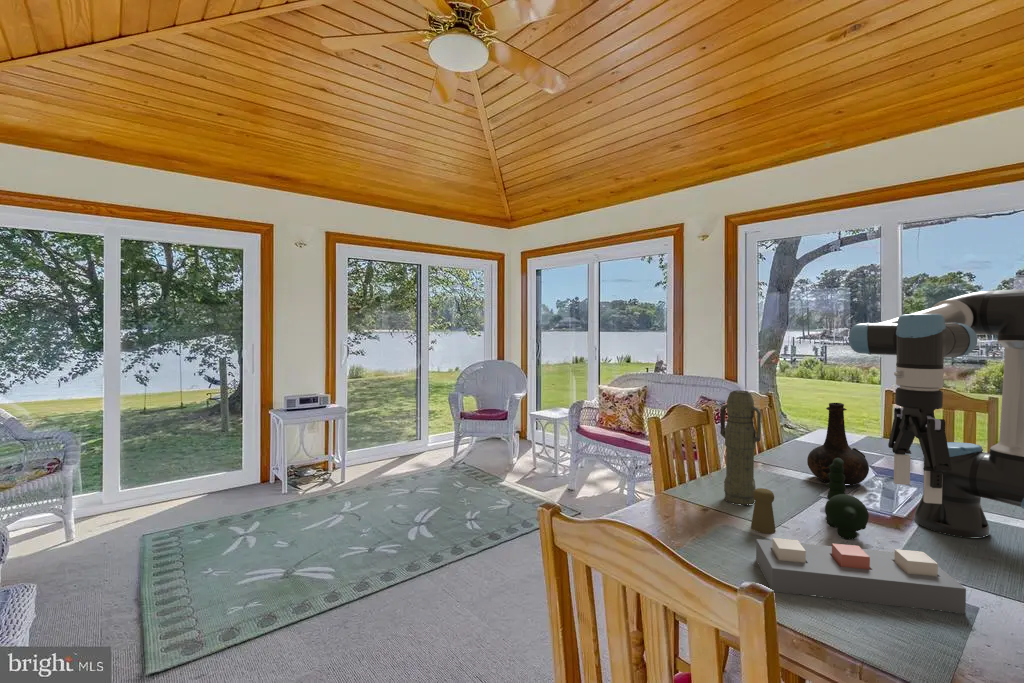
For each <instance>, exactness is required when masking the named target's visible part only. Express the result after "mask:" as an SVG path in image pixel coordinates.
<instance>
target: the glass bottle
mask: <svg viewBox="0 0 1024 683" xmlns="http://www.w3.org/2000/svg"><path fill="white" fill-rule="evenodd" d="M844 407H845V404H844V403H841V402H829V403H828V406H827V407H826V408H825V409H826V410H828V418H827V431H826V436H825V440H824V443H823V444H822V445H819V446H817V447H814V448H813V449H812V450H811V451H809V453H808V456H807V465H808V468H809V470H810V471H811V474H813V475H814V476H815V477H816V478H817V480H818V479H819V480H820V481H822V482H823V483H826V484H828V483H829V482H830V479H829V478H828V477H827V474H828V473H830V472H831V471H830V469H829V467H828V466H829V465H831V464H833V460H834V459H835V458H841V459H842V460H843V462H844V464H843V468H844V472H843V474H844V476H845V481H844V482H843V483H844V484H850V485H851V486H855V484H856V485H858V484H861V482H863V481H864V480H865V479H866V478H867V476H868V475H869V472H870V465H869V462H868V460H867V458H866V455H865V454H864V453H863V452H862V451H860V450H859V449H857V448H855V447H852V448H851V447H850V445H849V442H848V440H847V439H848V438H847V434H846V429H845V428H846V427H845V426H846V425H845V415H844V414H845V413H844V412H845V411H847V408H844Z"/></svg>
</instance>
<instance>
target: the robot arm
mask: <svg viewBox="0 0 1024 683" xmlns="http://www.w3.org/2000/svg"><path fill="white" fill-rule="evenodd" d="M978 335H985V336H986V335H988V336H991V335H992V336H997V343H998V344H999V345H1001V346H1002V347H1003V348H1004V349H1005V351H1004V363H1003V380H1002V391H1001V392H1002V395H1001V406H1000V409H1001V410H1000V423H999V424H1000V426H999V440H998V442H997V443H996V444H994V445H991V446H990V449H989V452H984V449H983V447H982V446H981V445H980V444H977V443H969V442H960V441H959V442H955V441H954V442H953V441H951V442H950V441H947V436H946V435H947V433H946V420H945V419H943V418H936V416H935V412H934V411H936V410H940V409H942V408H943V407H944V406H943V402H944V400H943V398H944V397H943V396H944V392H942V390H940V389H943V387H944V371H945V370H944V359H946V358H947V359H949V358H950V359H951V358H952V359H956V358H961V357H965V356H967V355H969V354H970V353H972V352H973V351H974V350H975V348H977V346H978V342H979V341H978ZM848 341H849V342H848V343H849V346H850V348H851V350H853V351H854V352H855V353H857V354H866V355H886V356H887V355H888V356H896V365H895V366H896V367H895V372H894V373H893V374H894V376H895V385H897V386H899V387H896V388H895V395H894V396H895V400H894V402H895V404H896V406H898V407H894V409H893V420H892V421H893V422H892V427H891V431H890V434H889V440H888V444H887V446H888V448H889V449H892V453H893V484H894V485H906V486H908V485H909V486H910V484H911V454H912V450H910V448H911V446H912V444H913V442H914V440H915V438H916V439H918V441H919V444H920V448H921V452H922V455H923V458H922V460H923V488H922V489H923V490H922V495H921V496H922V497H921V498H920V500H919V503H918V505H917V506H916V509H915V510H914V521H915V522H916V523H917V524H918V525H919V524H920V526H921V525H922V526H921V527H923V526H924V527H923V528H925V527H926V529H928V528H929V529H928V530H930V529H932V530H931V531H933V530H935V531H934V532H936V531H937V532H936V533H939V532H941V533H940V534H943V533H946V534H945V535H947V534H950V535H949V536H951V535H955V536H954V537H957V536H962V537H961V538H963V537H983V536H986V535H988V534H989V535H990V526H989V522H988V520H987V517H986V515H985V512H984V510H983V507H982V505H981V504H982V503H981V499H982V498H983V499H987V500H990V501H994V502H995V501H996V502H998V503H999V502H1000V503H1002V504H1003V503H1004V504H1007V505H1010V506H1015V507H1020V508H1021V509H1024V288H1015V289H1014V288H1013V289H1000V290H999V289H998V290H997V289H996V290H980V291H975V292H970V293H966V294H962V295H957V296H955V297H951V298H948V299H944V300H941V301H938V302H936V303H934V305H932V306H931V307H930V308H927V309H924V310H919V311H916V312H913V313H909V314H908V313H907V314H906V313H905V314H901V315H899V317H895V318H892V319H888V320H884V321H881V322H865V323H863V322H862V323H857V324H854V325H853V327H852V328H851V330H850V332H849V336H848Z"/></svg>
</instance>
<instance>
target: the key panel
mask: <svg viewBox="0 0 1024 683" xmlns="http://www.w3.org/2000/svg"><path fill="white" fill-rule="evenodd" d="M772 542H773V540H772V539H771V540H769V539H759V538H756V540H755V543H756V546H755V548H756V549H755V560H756V563H757V564H758V563H759V564H758V566H759V568H760V570H761V572H762V574H763V576H764V578H765V580H766V581H767V584H768V586H769V588H770V590H771V589H772V590H774V591H773V592H774V593H775V592H776V593H784V594H791V593H793V595H799V594H804V595H803V596H808V595H816V596H823V597H822V598H825V597H831V598H830V599H833V598H838V599H837V600H842V599H845V600H844V601H850V600H853V602H859V601H860V603H867V602H868V603H870V604H878V605H887V606H894V607H902V608H910V607H914V608H913V609H918V608H924V609H923V610H927V609H934V610H933V611H935V610H942V611H941V612H944V611H950V612H949V613H952V612H957V613H956V614H961V613H962V614H961V615H966V606H967V604H966V603H967V588H966V587H965V586H963V585H962V584H961V583H960V582H958V581H957V580H956V579H955V578H953V577H952V576H951V575H950V574H948V573H947V572H946V571H945V570H944V569H942V568H941V567H940V566H938V575H937V576H927V575H917V574H908V573H905V572H904V571H903V570H902V569H901V568H900V567H899V566H898V565H897V564H896V563H895V562H894V556H895V551H888V550H887V551H886V550H877V549H876V550H875V549H868V548H867V549H866V548H861V549H862V550H863V551H864V552H865V553H866V554H867V555H868V556H869V557H870V570H869V569H859V568H849V567H840V566H839V565H838V564H837V562H836V561H835V560H834V559H833V558H832V545H821V544H814V543H813V544H810V543H801V542H800V544H801V545H802V546H803V548H804V549H805V551H806V563H800V562H791V561H781V560H777V558H776V557H775V555H774V553H773V552H772ZM772 590H771V591H772ZM794 593H795V594H794ZM816 596H815V597H816Z"/></svg>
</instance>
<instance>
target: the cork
mask: <svg viewBox="0 0 1024 683" xmlns="http://www.w3.org/2000/svg"><path fill="white" fill-rule="evenodd" d="M753 498H754V501H755V503H754V505H753V513H752V518H751V524H750V528H751V530H753V531H754V530H755V532H757V533H761V534H765V535H767V534H768V535H769V534H770V535H771V534H775V533H776V524H775V516H774V508H773V502H774V501H775V494H774V493H773V491H772V490H771V489H768V488H763V487H758V488H757V487H756V488H755V490H754V491H753Z"/></svg>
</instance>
